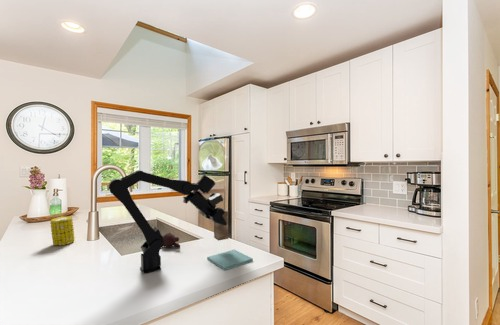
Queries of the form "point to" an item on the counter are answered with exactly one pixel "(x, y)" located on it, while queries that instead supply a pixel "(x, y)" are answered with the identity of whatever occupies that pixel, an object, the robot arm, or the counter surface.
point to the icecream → (170, 240)
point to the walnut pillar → (221, 229)
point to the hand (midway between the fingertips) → (223, 223)
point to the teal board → (229, 259)
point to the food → (62, 230)
